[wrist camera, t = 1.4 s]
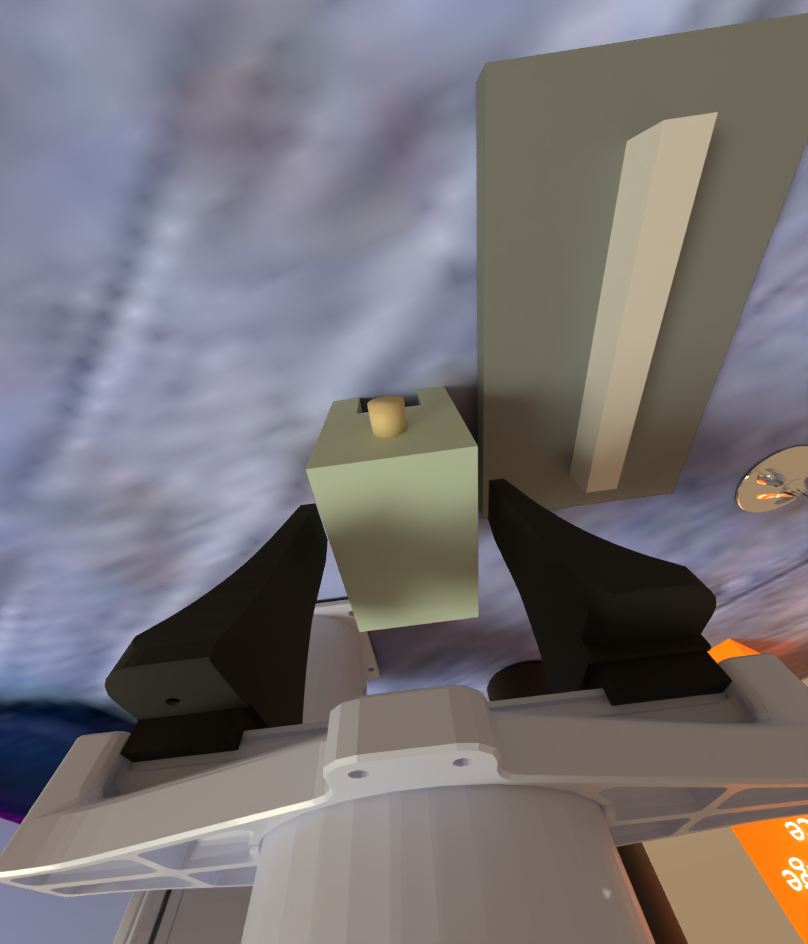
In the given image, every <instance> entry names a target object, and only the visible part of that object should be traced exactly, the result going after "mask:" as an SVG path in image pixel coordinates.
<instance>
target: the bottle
mask: <svg viewBox="0 0 808 944" xmlns="http://www.w3.org/2000/svg"><path fill="white" fill-rule="evenodd" d="M487 692H488V696H489V700H490V701H499V700H507V699H515V698H524V697H532V696H540V695H549V694H552V690H551V687H550V684H549V680H548V677H547V673H546V670H545V667H544V664H543V662H526V663H521V664H516V665H513V666H511V667H508V668H506V669H504V670H502V671H501V672H499V673H497V674H496V675H495V676H494V677H493V678H492V679H491V681H490V682H489V685H488V688H487ZM616 848H617V850H618V853H619V855H620V858H621V860H622V863H623V865H624V868H625V870H626V873H627V875H628V877H629V880H630V882H631V885H632V887H633V890H634V892H635V895H636V897H637V900H638V902H639V904H640V907H641V909H642V912H643V914H644V917H645V919H646V922H647V924H648V927H649V929H650V932H651V934H652V936H653V939H654V941H655V944H688V943H687V940H686V938H685V936H684V934H683V932H682V929H681V927H680V925H679V923H678V921H677V919H676V916H675V914H674V912H673V910H672V908H671V905H670V903H669V901H668V899H667V897H666V895H665V892H664V890H663V888H662V886H661V884H660V881H659V879H658V877H657V875H656V873H655V871H654V868H653V866H652V864H651V862H650V860H649V857H648V855H647V853H646V851H645V849H644V847H643V844H642V842H641V843H635V844H630V845H624V846H619V847H616Z"/></svg>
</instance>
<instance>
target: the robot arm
mask: <svg viewBox="0 0 808 944" xmlns="http://www.w3.org/2000/svg"><path fill="white" fill-rule="evenodd" d="M488 520H489V523H490V527H491V530H492V533H493V536H494V539H495V541H496V544H497V546H498V548H499V550H500V552H501V554H502V556H503V559H504V561H505V563H506V565H507V567H508V569H509V571H510V573H511V575H512V577H513V579H514V582H515V584H516V586H517V588H518V591H519V593H520V595H521V598H522V601H523V604H524V606H525V609H526V612H527V615H528V618H529V621H530V624H531V627H532V630H533V633H534V636H535V639H536V642H537V645H538V648H539V651H540V654H541V657H542V661H543V664H544V667H545V670H546V673H547V677H548V680H549V684H550V687H551V690H552V694H549V695H540V696H532V697H524V698H515V699H507V700H499V701H490V702H487V700H486V698H485V697H484V695H483V693H481V692H480V691H478V690H476V689H473V688H470V687H468V686H456V685H446V686H438V687H430V688H421V689H413V690H405V691H397V692H388V693H380V694H372V695H367V680H374V679H377V678H379V676H380V671H379V668H378V664H377V661H376V658H375V655H374V651H373V648H372V645H371V642H370V638H369V635H368V632H367V631H364V632H359V629H358V626H357V623H356V620H355V617H354V614H353V611H352V608H351V605H350V602H349V599H347V600H339V601H331V602H324V603H316V601H317V597H318V593H319V588H320V584H321V580H322V576H323V571H324V567H325V562H326V553H327V541H328V540H327V537H326V534H325V531H324V528H323V525H322V522H321V519H320V516H319V513H318V510H317V507H316V504H315V503H314V504H307V505H301V506H300V507H299V508H298V509H297V510H296V511H295V512H294V513H293V514H292V515H291V517H290V518H289V519H288V520H287V521H286V522H285V523H284V524H283V526H282V527H281V528H280V529H279V530H278V531H277V532H276V533H275V534H274V535H273V537H272V538H271V539H270V540H269V541H268V542H267V543H266V544H265V545H264V546H263V547H262V548H261V549H260V550H259V551H258V552H257V553H256V554H255V555H254V556H253V557H252V558H250V559H249V560H248V561H247V562H246V563H245V564H244V565H243V566H241V567H240V568H239V569H238V570H237V571H236V572H234V573H233V574H232V575H231V576H229V577H228V578H227V579H226V580H224V581H223V582H222V583H220V584H219V585H217V586H216V587H215V588H213V589H212V590H211V591H209V592H208V593H207V594H205V595H204V596H202V597H201V598H199V599H198V600H196V601H195V602H193V603H192V604H190V605H189V606H187V607H186V608H184V609H182V610H181V611H179V612H178V613H176V614H174V615H173V616H171V617H169V618H168V619H166V620H164V621H162V622H160V623H159V624H157V625H155V626H153V627H152V628H150V629H148V630H146V631H144V632H143V633H141V634H139V635H137V636H136V637H135V638H134V639H133V641H132V642H131V644H130V645H129V647H128V648H127V649H126V651H125V652H124V654H123V655H122V657H121V658H120V660H119V661H118V663H117V664H116V665H115V667H114V668H113V670H112V671H111V673H110V674H109V676H108V677H107V678H106V682H105V688H106V691H107V693H108V695H109V696H110V697H111V698H112V699H113V700H114V701H115V702H116V703H117V704H118V705H120V706H121V707H122V708H123V709H125V710H126V711H127V712H129V713H130V714H131V715H132V716H134V717H135V718H136V719H137V720H138V722H137V724H136V726H135V727H134V729H133V731H132V733H128V732H123V731H115V732H107V733H98V734H90V735H83V736H81V737H79V738H77V740H76V741H75V743H74V745H73V746H72V748H71V749H70V751H69V752H68V754H67V755H66V757H65V758H64V760H63V761H62V763H61V764H60V766H59V767H58V769H57V770H56V772H55V773H54V775H53V776H52V778H51V779H50V781H49V782H48V784H47V785H46V787H45V788H44V790H43V791H42V793H41V794H40V796H39V797H38V799H37V800H36V802H35V803H34V805H33V806H32V808H31V809H30V811H29V812H28V814H27V815H26V817H25V818H24V820H23V821H22V823H21V824H20V826H19V828H18V829H17V831H16V832H15V834H14V835H13V837H12V838H11V840H10V841H9V843H8V844H7V846H6V847H5V849H4V850H3V852H2V853H1V855H0V883H5V884H9V885H14V886H18V887H22V888H27V889H31V890H36V891H40V892H45V893H49V894H54V895H58V896H62V897H73V896H83V895H93V894H103V893H116V892H129V891H134V893H133V895H132V897H131V900H130V902H129V905H128V907H127V910H126V912H125V914H124V917H123V919H122V922H121V924H120V927H119V929H118V931H117V934H116V936H115V939H114V941H113V944H655V941H654V939H653V936H652V934H651V932H650V929H649V927H648V924H647V922H646V919H645V917H644V914H643V912H642V909H641V907H640V904H639V902H638V900H637V897H636V895H635V892H634V890H633V887H632V885H631V882H630V880H629V877H628V875H627V873H626V870H625V868H624V865H623V863H622V860H621V858H620V855H619V853H618V850H617V848H616V847H619V846H624V845H630V844H635V843H641V842H646V841H652V840H657V839H662V838H668V837H673V836H679V835H684V834H690V833H696V832H701V831H707V830H712V829H718V828H724V827H730V826H736V825H742V824H748V823H754V822H761V821H768V820H774V819H781V818H789V817H797V816H805V815H808V687H807V686H805V684H804V683H803V682H802V681H801V680H800V679H799V678H798V677H797V676H795V675H794V674H793V673H792V672H791V671H790V670H789V669H788V668H787V667H786V666H785V665H784V664H783V663H782V662H781V661H780V660H779V659H778V658H777V657H776V656H775V655H774V654H771V653H763V654H754V655H746V656H738V657H731V658H727V659H724V660H722V661H720V662H719V663H717V662H716V661H715V660H714V659H713V658H712V657H711V655H710V654H709V653H708V652H707V651H710V649H711V646H710V644H709V643H708V642H707V641H706V640H705V638H704V637H703V636H702V635H701V633H702V631H703V629H704V628H705V626H706V625H707V623H708V621H709V620H710V618H711V617H712V615H713V613H714V610H715V608H716V597H715V595H714V594H713V593H712V591H711V590H710V589H709V588H708V587H706V586H705V585H704V584H703V583H702V582H701V581H700V580H699V579H698V578H697V577H696V576H695V575H694V574H693V573H692V572H691V571H690V570H689V569H687V568H686V567H685V566H681V565H678V564H674V563H671V562H667V561H664V560H660V559H657V558H653V557H650V556H647V555H644V554H641V553H638V552H635V551H632V550H629V549H627V548H624V547H621V546H619V545H616V544H613V543H611V542H609V541H606V540H604V539H602V538H599V537H597V536H595V535H592V534H590V533H588V532H586V531H584V530H582V529H580V528H578V527H576V526H574V525H572V524H570V523H569V522H567V521H565V520H563V519H561V518H560V517H558V516H557V515H555V514H553V513H552V512H550V511H548V510H547V509H545V508H544V507H542V506H541V505H539V504H538V503H536V502H535V501H534V500H532V499H531V498H529V497H528V496H527V495H525V494H524V493H523V492H521V491H520V490H519V489H517V488H516V487H515V486H513V485H512V484H511V483H509V482H508V481H507V480H505V479H504V478H503V479H495V480H489V498H488Z"/></svg>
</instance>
